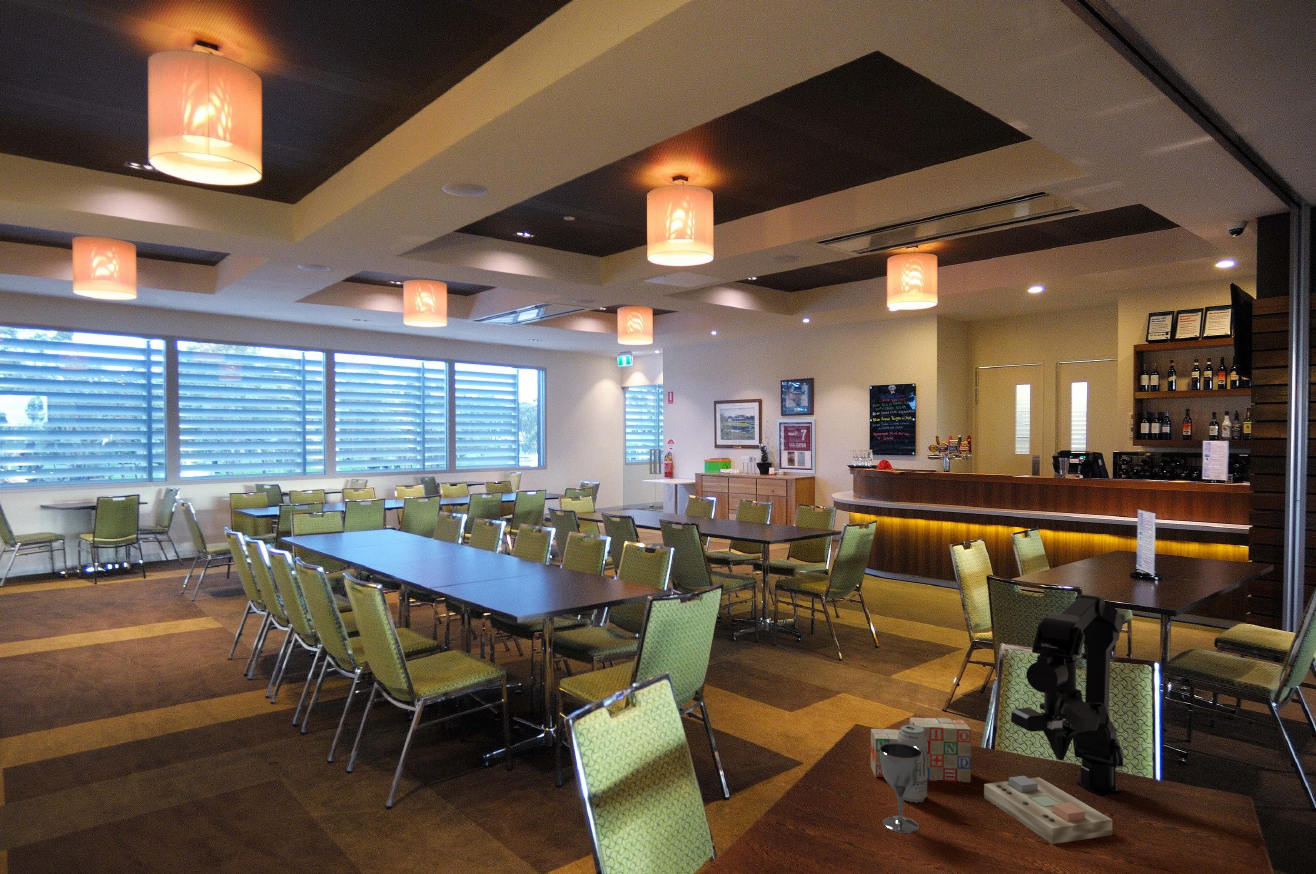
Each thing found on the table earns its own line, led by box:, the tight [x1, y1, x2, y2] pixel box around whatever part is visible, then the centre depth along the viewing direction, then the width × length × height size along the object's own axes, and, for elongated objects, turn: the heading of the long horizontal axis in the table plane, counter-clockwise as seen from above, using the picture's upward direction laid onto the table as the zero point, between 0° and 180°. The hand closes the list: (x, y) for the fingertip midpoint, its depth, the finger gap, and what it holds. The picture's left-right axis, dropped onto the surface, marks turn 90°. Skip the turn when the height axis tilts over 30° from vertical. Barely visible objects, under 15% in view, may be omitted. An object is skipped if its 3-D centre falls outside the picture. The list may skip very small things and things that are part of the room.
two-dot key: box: [1053, 802, 1085, 822], centre depth 156 cm, size 4×4×2 cm
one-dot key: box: [1030, 796, 1060, 807], centre depth 162 cm, size 4×4×2 cm
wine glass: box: [880, 743, 921, 834], centre depth 158 cm, size 8×8×15 cm
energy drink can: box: [898, 723, 928, 804], centre depth 170 cm, size 6×6×15 cm
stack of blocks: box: [870, 717, 972, 783], centre depth 182 cm, size 21×6×12 cm, turn 84°
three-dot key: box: [1008, 775, 1038, 793], centre depth 168 cm, size 4×4×2 cm
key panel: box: [983, 776, 1113, 845], centre depth 162 cm, size 14×20×3 cm
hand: (1059, 759), depth 158 cm, fingers closed
